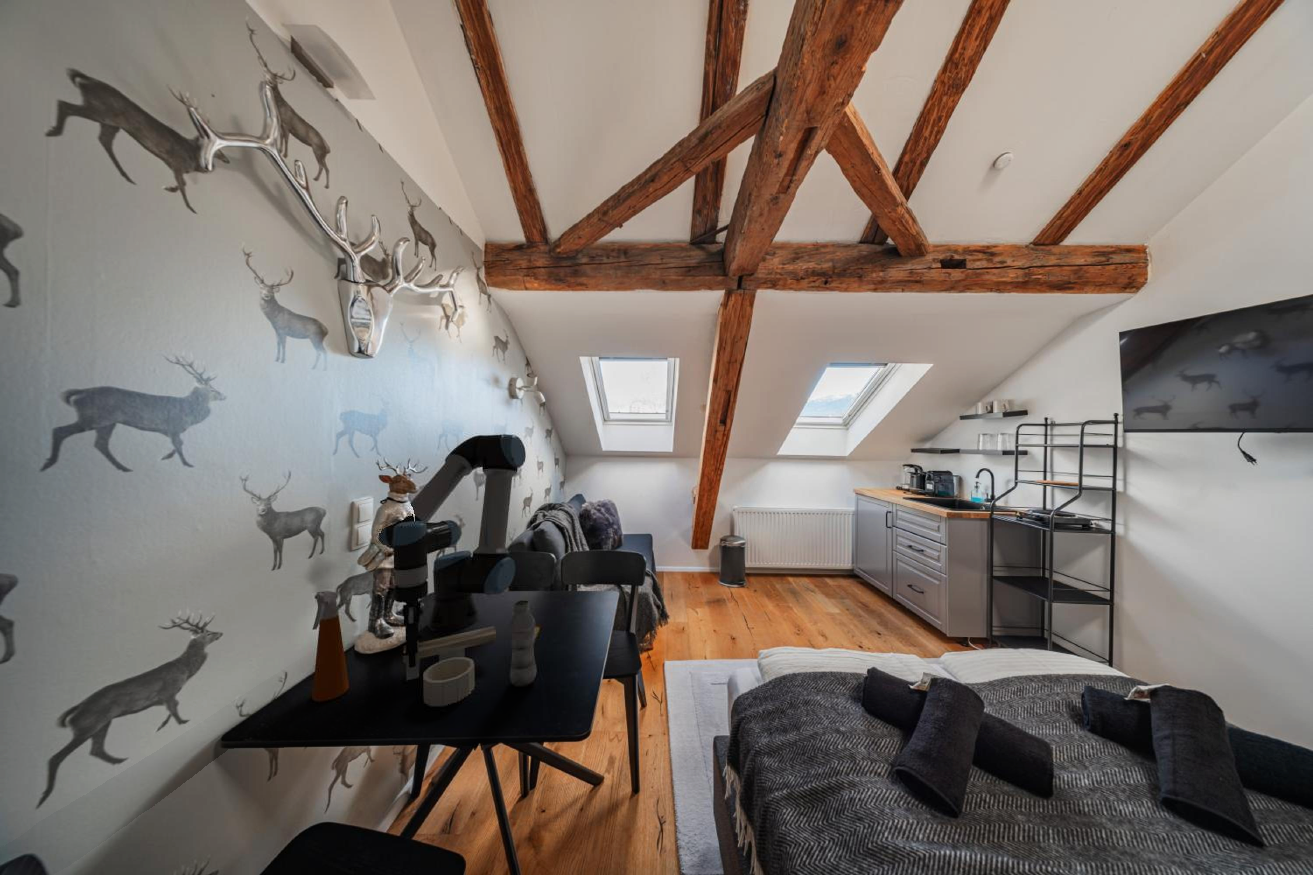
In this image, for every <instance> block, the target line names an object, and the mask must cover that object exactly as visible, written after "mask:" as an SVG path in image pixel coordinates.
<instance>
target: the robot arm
mask: <svg viewBox="0 0 1313 875" xmlns="http://www.w3.org/2000/svg"><path fill="white" fill-rule="evenodd" d="M526 458H527V455H526V447H525V445H524V443H523V441H522V439H521V438H520V437H519V436H517V435H515V434H505V433H504V434H491V435H490V434H485V435H483V434H482V435H480V434H479V435H476V436H471V437H470V438H468V439H466V440H464V441H462V442H461V443H460V444H458V445H457V446H456V447H454V448H453V450H451V451H450V452H449V453H448V455H447V456H445V458H444V464H443V465H442V466H441V467H440V468H439V469H438V471H437V472H436V473H435V474H434V475H433V476H432V478H431V479H430V480H429V481H428V482H427V483H426V484H425V486H423V488H422V489H421V490H420V491H419V493H418V494H417V495H416V496H415V497H414V498H413V500H412V501H410V503H409V504H411V506H412V507H413V510H414V514H415V521H414V517H413V514H412V516H408V517H406V518H405V519H404V520H402V521H398V522H396V523H395V524H393V525H390V526H388V527H385V528H384V529H382V531H381V533H379V538H378V539H379V541H380V542H381V543H382V544H383V545H386V546H387V547H389V548H388V549H391V548H392V549H391V550H392V551H393V554H392V555H393V557H392V558H393V572H391V573H390V576H391V577H394V578H393V582H394V587H393V597H394V601H395V602H396V603H399V604H400V603H405V604H403V605H402V616H403V626H404V627H405V628H404V630H405V646H406V652H405V653H403V652H402V657H403V656H405V655H406V662H405V668H406V669H405V673H406V675H405V676H406V681H409V680H413V679H418V678H420V668H419V667H420V659H419V654H418V643H420V641H421V640H422V635H420V631H419V623H420V616H421V614H420V613H421V608H422V607H421V605H422V604H421V601H419V600H421V599H424V598H425V597H427V596H428V594H429V583H428V579H429V575H428V573H429V567H428V565H429V564H428V555H430V554H432V553H435V552H438V551H441V550H443V549H447V548H450V547H451V546H453V545H455V544H456V543H458V541H459V539H460V538H461V527H460V526H459V524H458V523H457V522H456V521H454V520H452V519H449V520H441V521H438V522H429V521H430V520H431V519H432V518H433V516H434V515H435V514H436V512H438V510H439V509H440V507H441V506H442V505H443V504H444V502H445V501H446V500H447V499H448V497H449V496H450V495H451V493H452V492H453V491H454V490H455V488H456V487H457V486H458V485H459V484H460V482H461V481H462V480H463V479H464V477H465V476H466V477H467V476H469V475H470V474H472V473H473V471H474V470H476V469H479V468H481V469H482V472H483V474H484V475H485V476H486V477H485V486H484V492H483V493H484V494H483V504H482V510H481V519H480V529H479V530H480V531H479V539H478V546H477V547H476V548H475V549H474V550H473V551H470V550H460V551H456V552H451V553H447V554H446V553H445V554H443V555H440V556H439V557H436V559H435V560H434V561H433V570H432V573H433V575H432V576H433V578H432V579H433V606H432V607H431V612H430V614H429V617H428V628H429V630H431V629H433V630H436V631H435V632H449V631H448V630H452V631H456V630H455V629H457V630H460V629H463V628H465V627H469V626H471V625H472V624H473V623H474V624H475V622H477V620H478V619H479V612H478V611H479V610H478V608H477V605H476V603H475V601H474V598H473V594H478V595H479V594H482V595H488V596H490V595H500V594H503V593H504V592H506V591H507V590H508V588H509V587H510V585H511V583H512V582H513V580H514V577H515V572H516V564H515V560H514V559H513V558H511V557H510V551H509V550H508V548H507V546H506V543H507V534H508V533H507V532H508V525H509V524H508V523H509V516H510V514H509V513H510V512H509V511H510V505H511V504H510V502H511V494H512V493H511V491H512V485H513V484H512V483H513V477H515V476H516V475H517V474H518V469H519V468H520V467H522V466H523V465H524V464H525V462H526ZM433 630H432V631H433Z"/></svg>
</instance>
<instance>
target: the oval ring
mask: <svg viewBox="0 0 1313 875" xmlns="http://www.w3.org/2000/svg"><path fill="white" fill-rule="evenodd" d="M422 677H423V678H422V680H423V681H422V682H423V684H422V685H423V703H424V704H426V705H427V706H429V707H445V706H449V705H452V703H453V704H455V703H458V702H460V701H462V700H463V699H465V698H467V697H469V696H468V695H469V694H470V695H471V693H472V692H473V691H474V689H475V688H474V687H475V686H476V684H475V683H476V682H475V663H474V660H473V659H471V658H468V657H455V658H450V659H446V660H442V661H440V662H439V661H438V662H436V663H434V664H432V665H430V666H429V667H427V669H426V670H425V671H424V672H423V676H422ZM472 690H473V691H472ZM471 691H472V692H471ZM466 696H467V697H466ZM464 697H465V698H464ZM461 699H462V700H461ZM457 701H458V702H457ZM448 704H449V705H448Z"/></svg>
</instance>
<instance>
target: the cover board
mask: <svg viewBox="0 0 1313 875" xmlns="http://www.w3.org/2000/svg"><path fill="white" fill-rule="evenodd" d="M494 641H497V632H496V629H495V626H494V625H492V626H489V627H483V628H479V629H474V630H470V631H467V632H466V631H465V632H462V633H458V634H457V633H456V634H452V635H448V636H443V637H439V638H435V639H430V640H426V641H421V642H419V643H418V654H419V660H421V659H424V658H429V657H432V656H437V655H439V654H441V653H446V652H450V651H454V650H458V649H462V648H465V649H466V648H470V647H474V646H478V645H482V644H487V643H490V642H494ZM405 652H406V645H404V646H403V652H402V654H403V653H405ZM402 663H406V655H405V656H403V655H402Z"/></svg>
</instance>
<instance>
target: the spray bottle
mask: <svg viewBox="0 0 1313 875" xmlns="http://www.w3.org/2000/svg"><path fill="white" fill-rule="evenodd" d="M314 598H315V600H316V603H317V610H316V616H315V619H314V623H313V626H312V631H313V630H315V631H316V630H318V633H317V634H318V636H317V643H316V644H317V646H316V656H315V666H314V675H313V683H312V684H313V685H312V695H311V697H312V700H313V701H314V702H319V703H320V702H321V703H322V702H326V701H332V700H333V699H337V698H338V697H341V696H342V695H344V694H345V693H346V692H347V691H348V689H349V688H350V685H349V679H348V678H349V677H348V672H347V671H348V670H347V664H346V658H345V657H346V656H345V650H344V642H343V636H342V628H341V622H340V616H339V606H338V604H337V603H338V602H337V600H338V598H339V594H338V593H336V592H335V591H331V590H323V591H318V592H316V594H315V595H314Z"/></svg>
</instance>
